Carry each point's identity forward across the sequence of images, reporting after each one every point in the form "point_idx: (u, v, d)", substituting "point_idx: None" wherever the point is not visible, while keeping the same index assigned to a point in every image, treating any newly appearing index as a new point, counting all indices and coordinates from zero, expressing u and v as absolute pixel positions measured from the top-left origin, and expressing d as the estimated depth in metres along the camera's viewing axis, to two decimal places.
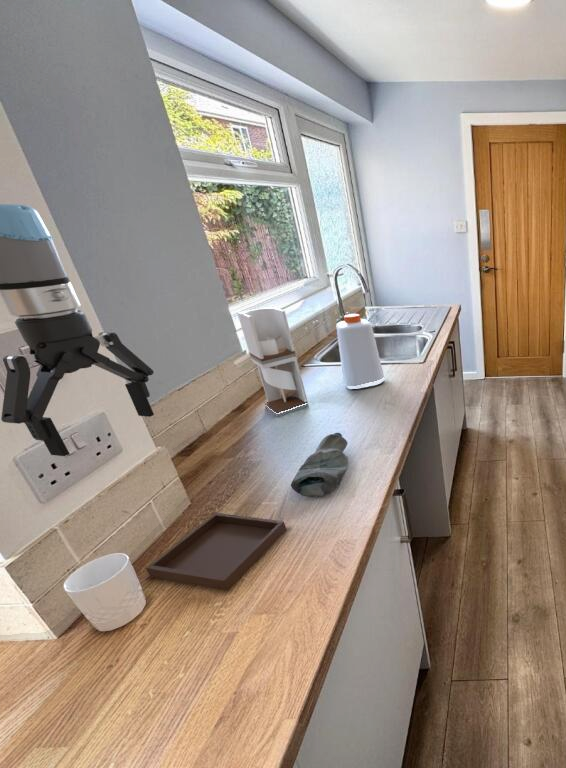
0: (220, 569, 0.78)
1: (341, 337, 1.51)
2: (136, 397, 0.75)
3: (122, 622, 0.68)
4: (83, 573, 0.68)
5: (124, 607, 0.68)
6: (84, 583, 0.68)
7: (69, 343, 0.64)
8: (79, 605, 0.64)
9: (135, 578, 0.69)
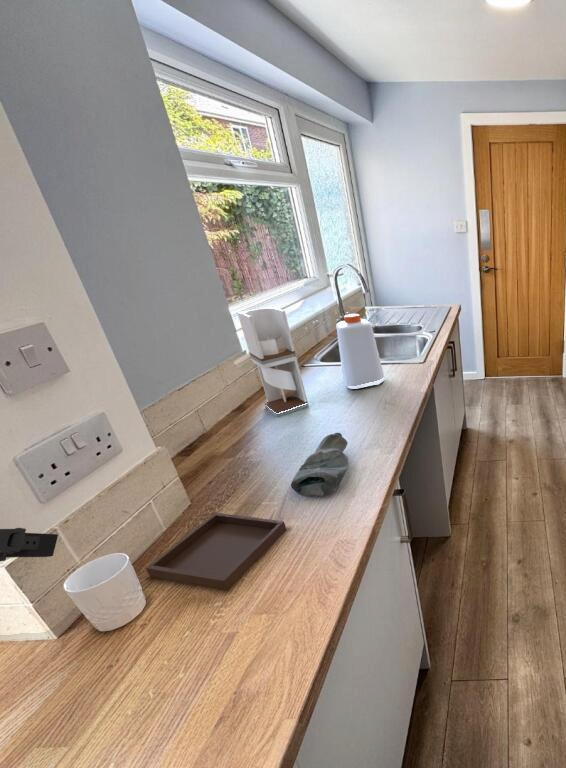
0: (220, 569, 0.78)
1: (341, 337, 1.51)
2: None
3: (122, 622, 0.68)
4: (83, 573, 0.68)
5: (124, 607, 0.68)
6: (84, 583, 0.68)
7: None
8: (79, 605, 0.64)
9: (135, 578, 0.69)
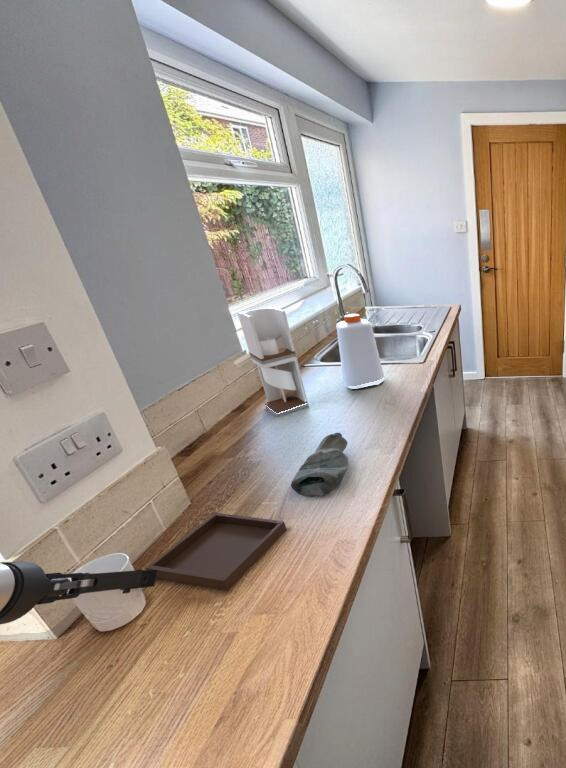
0: (220, 569, 0.78)
1: (341, 337, 1.51)
2: None
3: (122, 622, 0.68)
4: (83, 573, 0.68)
5: (124, 607, 0.68)
6: None
7: None
8: (79, 605, 0.64)
9: None
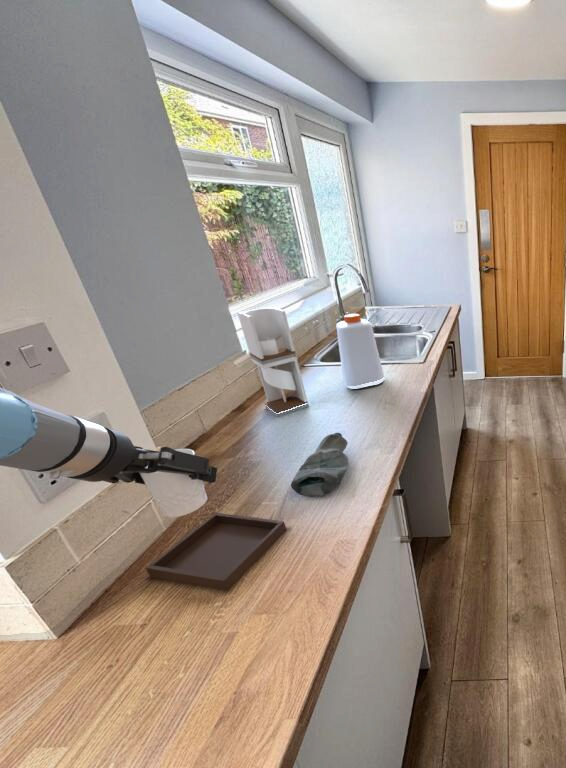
0: (220, 569, 0.78)
1: (341, 337, 1.51)
2: None
3: (188, 509, 0.73)
4: None
5: (190, 495, 0.72)
6: None
7: None
8: (152, 488, 0.69)
9: None
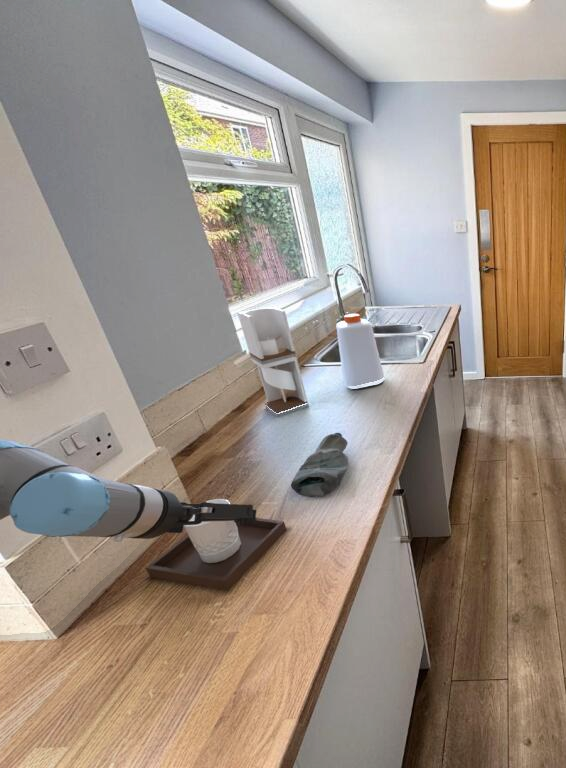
0: (220, 569, 0.78)
1: (341, 337, 1.51)
2: None
3: (225, 555, 0.80)
4: None
5: (227, 543, 0.80)
6: None
7: None
8: (194, 538, 0.76)
9: None
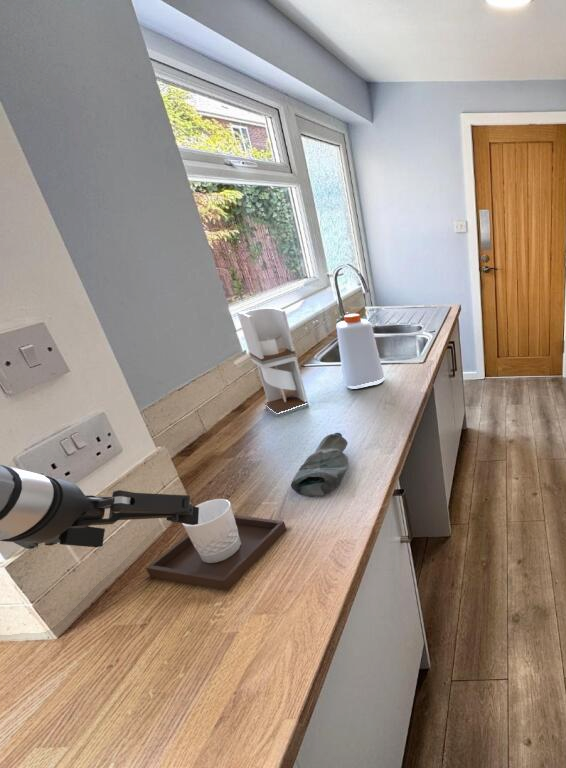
0: (220, 569, 0.78)
1: (341, 337, 1.51)
2: None
3: (225, 555, 0.80)
4: None
5: (227, 543, 0.80)
6: None
7: None
8: (194, 538, 0.76)
9: (234, 520, 0.82)
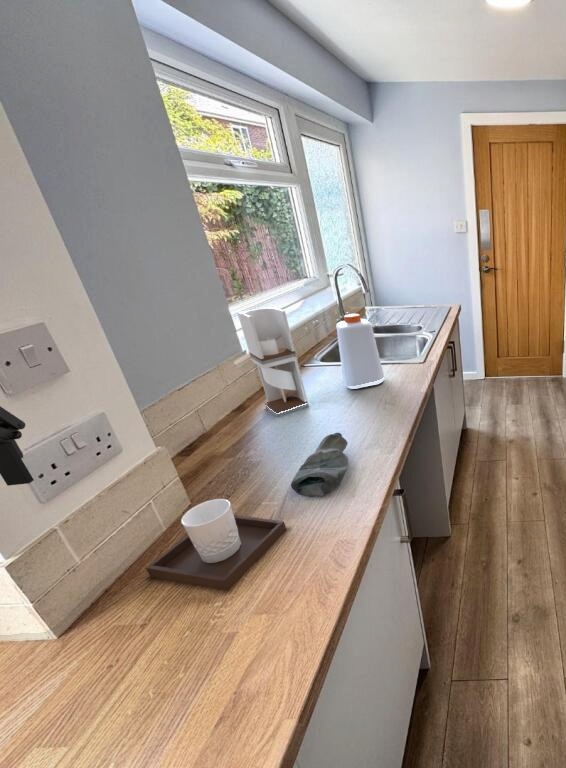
0: (220, 569, 0.78)
1: (341, 337, 1.51)
2: (4, 461, 0.56)
3: (225, 555, 0.80)
4: (193, 514, 0.80)
5: (227, 543, 0.80)
6: (193, 522, 0.80)
7: None
8: (194, 538, 0.76)
9: (234, 520, 0.82)
